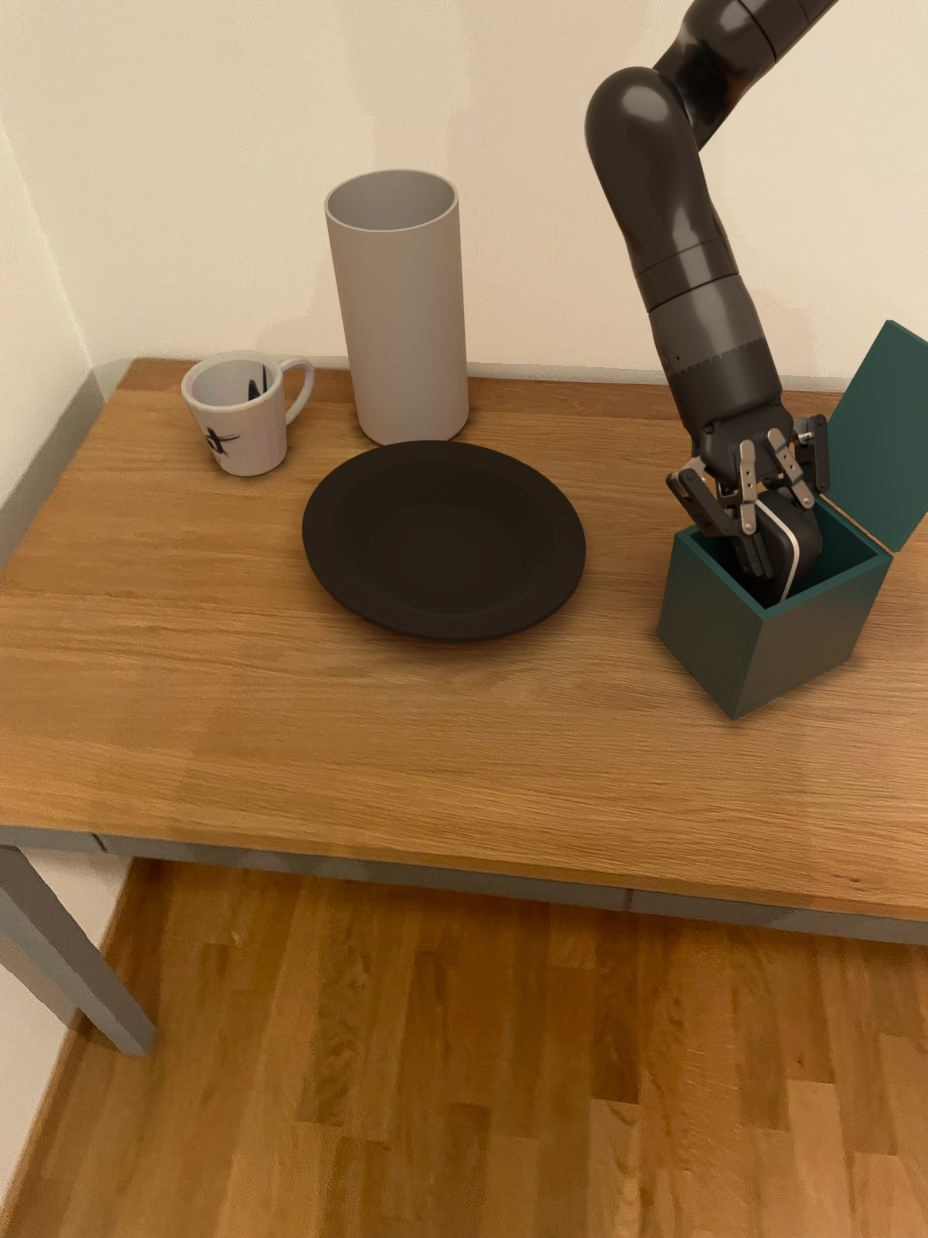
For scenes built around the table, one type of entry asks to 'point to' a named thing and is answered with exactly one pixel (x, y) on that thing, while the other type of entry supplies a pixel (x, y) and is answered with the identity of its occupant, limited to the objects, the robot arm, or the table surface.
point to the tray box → (768, 615)
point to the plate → (444, 541)
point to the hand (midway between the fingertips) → (787, 567)
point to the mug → (244, 407)
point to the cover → (883, 439)
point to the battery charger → (777, 550)
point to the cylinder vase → (401, 302)
